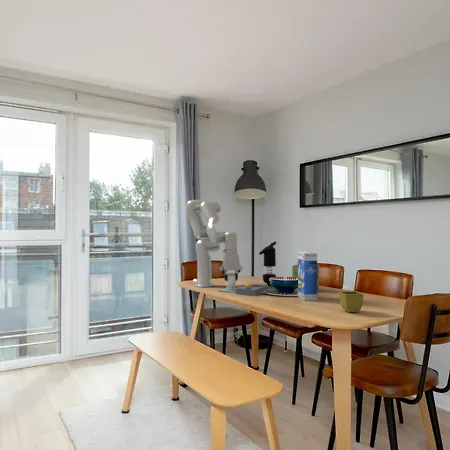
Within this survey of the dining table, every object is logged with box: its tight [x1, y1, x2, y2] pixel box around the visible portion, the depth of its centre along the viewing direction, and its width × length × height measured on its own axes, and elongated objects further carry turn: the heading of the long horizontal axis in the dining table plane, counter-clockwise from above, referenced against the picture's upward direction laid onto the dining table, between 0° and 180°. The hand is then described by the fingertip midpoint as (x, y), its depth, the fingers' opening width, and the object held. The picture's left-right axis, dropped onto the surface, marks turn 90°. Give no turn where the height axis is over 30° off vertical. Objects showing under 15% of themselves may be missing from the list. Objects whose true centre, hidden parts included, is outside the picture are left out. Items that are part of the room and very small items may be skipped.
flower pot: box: [338, 290, 365, 313], centre depth 180 cm, size 9×9×9 cm
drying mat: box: [217, 287, 238, 294], centre depth 241 cm, size 12×12×1 cm
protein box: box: [291, 264, 320, 293], centre depth 240 cm, size 10×15×16 cm
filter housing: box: [236, 283, 270, 297], centre depth 233 cm, size 12×19×4 cm, turn 148°
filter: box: [258, 241, 277, 287], centre depth 258 cm, size 14×9×30 cm
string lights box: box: [297, 250, 318, 302], centre depth 214 cm, size 13×8×26 cm, turn 5°
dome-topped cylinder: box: [226, 272, 237, 288], centre depth 241 cm, size 6×6×9 cm
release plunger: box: [245, 282, 253, 289], centre depth 228 cm, size 4×4×6 cm
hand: (231, 280), depth 241 cm, fingers closed on dome-topped cylinder, 5 cm apart
